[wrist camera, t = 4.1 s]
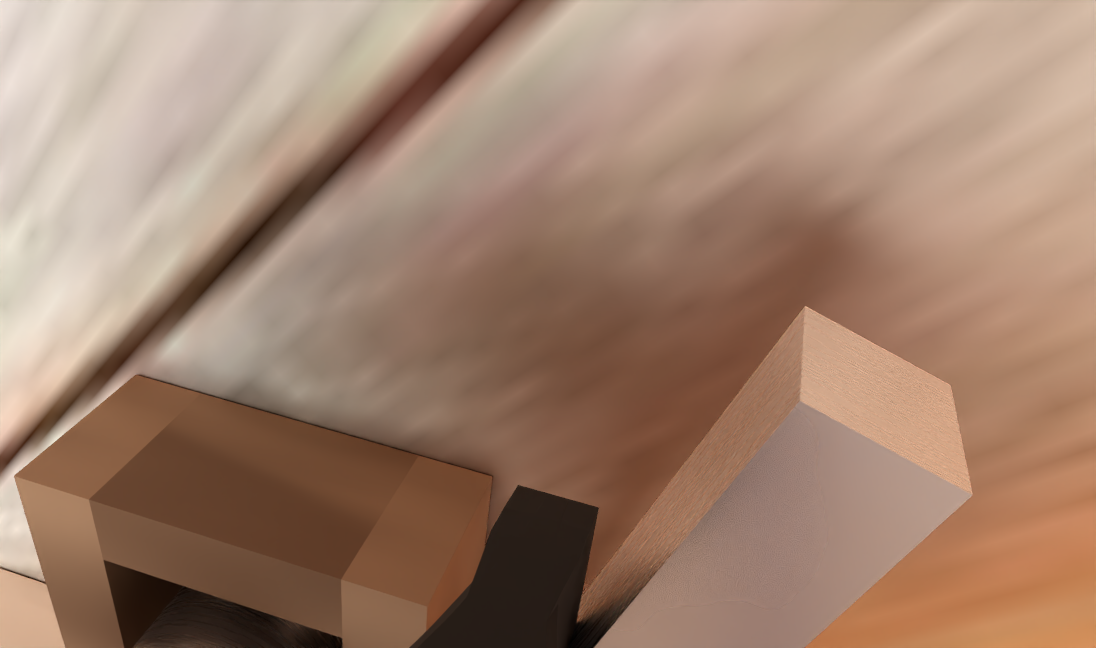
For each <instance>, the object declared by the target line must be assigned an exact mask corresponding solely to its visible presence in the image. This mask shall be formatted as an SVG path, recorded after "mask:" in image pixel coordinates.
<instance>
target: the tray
mask: <svg viewBox="0 0 1096 648" xmlns="http://www.w3.org/2000/svg"><path fill="white" fill-rule="evenodd" d="M0 648H65V645H64V642H63V639H62V635H61V632H60V629H59V625H58V622H57V619H56V615H55V612H54V609H53V605H52V602H51V599H50V595H49V592H48V588H47V585H46V584H44V583H42V582H39V581H36V580H33V579H30V578H27V577H24V576H21V575H18V574H15V573H12V572H9V571H6V570H3V569H0Z"/></svg>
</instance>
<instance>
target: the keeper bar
mask: <svg viewBox="0 0 1096 648" xmlns="http://www.w3.org/2000/svg"><path fill="white" fill-rule="evenodd" d="M972 495H973V494H972V489H971V484H970V479H969V474H968V469H967V464H966V459H965V454H964V449H963V444H962V439H961V434H960V429H959V424H958V419H957V414H956V409H955V404H954V399H953V394H952V389H951V385H950V384H948V383H946V382H944V381H942V380H940V379H939V378H937V377H935V376H933V375H931V374H929V373H928V372H926V371H924V370H922V369H920V368H918V367H917V366H915V365H913V364H911V363H909V362H907V361H906V360H904V359H902V358H900V357H898V356H896V355H895V354H893V353H891V352H889V351H887V350H885V349H884V348H882V347H880V346H878V345H876V344H874V343H873V342H871V341H869V340H867V339H865V338H863V337H862V336H860V335H858V334H856V333H854V332H852V331H851V330H849V329H847V328H845V327H843V326H841V325H840V324H838V323H836V322H834V321H832V320H830V319H829V318H827V317H825V316H823V315H821V314H819V313H818V312H816V311H814V310H812V309H810V308H808V307H807V306H804V308H803V309H802V310H801V312H800V313H799V314H798V315H797V317H796V318H795V319H794V321H793V322H792V323H791V325H790V326H789V327H788V329H787V330H786V331H785V332H784V334H783V335H782V336H781V338H780V339H779V340H778V342H777V343H776V344H775V345H774V347H773V348H772V349H771V351H770V352H769V353H768V355H767V356H766V357H765V358H764V360H763V361H762V362H761V364H760V365H759V366H758V368H757V369H756V370H755V372H754V373H753V374H752V375H751V377H750V378H749V379H748V381H747V382H746V383H745V385H744V386H743V387H742V388H741V390H740V391H739V392H738V394H737V395H736V396H735V398H734V399H733V400H732V401H731V403H730V404H729V405H728V407H727V408H726V409H725V411H724V412H723V413H722V414H721V416H720V417H719V418H718V420H717V421H716V422H715V424H714V425H713V426H712V428H711V429H710V430H709V431H708V433H707V434H706V435H705V437H704V438H703V439H702V441H701V442H700V443H699V444H698V446H697V447H696V448H695V450H694V451H693V452H692V454H691V455H690V456H689V457H688V459H687V460H686V461H685V463H684V464H683V465H682V467H681V468H680V469H679V470H678V472H677V473H676V474H675V476H674V477H673V478H672V480H671V481H670V482H669V484H668V485H667V486H666V487H665V489H664V490H663V491H662V493H661V494H660V495H659V497H658V498H657V499H656V500H655V502H654V503H653V504H652V506H651V507H650V508H649V510H648V511H647V512H646V513H645V515H644V516H643V517H642V519H641V520H640V521H639V523H638V524H637V525H636V527H635V528H634V529H633V530H632V532H631V533H630V534H629V536H628V537H627V538H626V540H625V541H624V542H623V543H622V545H621V546H620V547H619V549H618V550H617V551H616V553H615V554H614V555H613V556H612V558H611V559H610V560H609V562H608V563H607V564H606V566H605V567H604V568H603V569H602V571H601V572H600V573H599V575H598V576H597V577H596V579H595V580H594V581H593V583H592V584H591V585H590V586H589V588H588V589H587V590H586V592H585V593H584V594H583V596H582V597H581V601H580V606H579V611H578V616H577V621H576V625H575V629H574V632H573V635H572V638H571V642H570V645H569V648H805V647H806V646H807V645H808V644H809V643H810V642H811V641H812V640H813V639H815V638H816V637H817V636H818V635H819V634H820V633H821V632H822V631H823V630H825V629H826V628H827V627H828V626H829V625H830V624H831V623H832V622H833V621H834V620H836V619H837V618H838V617H839V616H840V615H841V614H842V613H843V612H844V611H845V610H847V609H848V608H849V607H850V606H851V605H852V604H853V603H854V602H855V601H857V600H858V599H859V598H860V597H861V596H862V595H863V594H864V593H865V592H866V591H868V590H869V589H870V588H871V587H872V586H873V585H874V584H875V583H876V582H878V581H879V580H880V579H881V578H882V577H883V576H884V575H885V574H886V573H887V572H889V571H890V570H891V569H892V568H893V567H894V566H895V565H896V564H897V563H898V562H900V561H901V560H902V559H903V558H904V557H905V556H906V555H907V554H908V553H910V552H911V551H912V550H913V549H914V548H915V547H916V546H917V545H918V544H919V543H921V542H922V541H923V540H924V539H925V538H926V537H927V536H928V535H929V534H930V533H932V532H933V531H934V530H935V529H936V528H937V527H938V526H939V525H940V524H942V523H943V522H944V521H945V520H946V519H947V518H948V517H949V516H950V515H951V514H953V513H954V512H955V511H956V510H957V509H958V508H959V507H960V506H961V505H963V504H964V503H965V502H966V501H967V500H968V499H969V498H970V497H971V496H972Z"/></svg>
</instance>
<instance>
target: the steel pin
mask: <svg viewBox="0 0 1096 648" xmlns="http://www.w3.org/2000/svg"><path fill="white" fill-rule="evenodd" d="M133 648H343V642H342V638H340V637H337V636H334V635H331V634H328V633H325V632H322V631H319V630H316V629H313V628H310V627H307V626H304V625H301V624H298V623H295V622H292V621H289V620H286V619H282V618H279V617H276V616H273V615H270V614H267V613H264V612H261V611H258V610H255V609H252V608H249V607H246V606H243V605H240V604H237V603H234V602H231V601H228V600H225V599H222V598H218V597H215V596H212V595H209V594H206V593H203V592H200V591H197V590H194V589H191V588H188V587H185V586H183V587H182V588H181V589H180V590H179V592H178V593H177V594H176V595H175V597H174V598H173V599H172V600H171V601H170V603H169V604H168V605H167V606H166V608H165V609H164V610H163V611H162V612H161V614H160V615H159V616H158V617H157V618H156V620H155V621H154V622H153V623H152V625H151V626H150V627H149V628H148V629H147V631H146V632H145V633H144V634H143V635H142V637H141V638H140V639H139V640H138V642H137V643H136V644H135V645H134V646H133Z"/></svg>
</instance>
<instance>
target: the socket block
mask: <svg viewBox="0 0 1096 648" xmlns="http://www.w3.org/2000/svg"><path fill="white" fill-rule="evenodd" d="M14 478H15V481H16V485H17V488H18V491H19V495H20V498H21V501H22V505H23V508H24V511H25V515H26V518H27V521H28V525H29V528H30V531H31V535H32V538H33V542H34V545H35V548H36V552H37V555H38V558H39V562H40V565H41V568H42V572H43V575H44V578H45V582H46V585H47V588H48V592H49V595H50V599H51V602H52V605H53V609H54V612H55V615H56V619H57V622H58V625H59V629H60V632H61V635H62V639H63V642H64V645H65V648H133V646H134V645H135V644H136V643H137V642H138V640H139V639H140V638H141V637H142V635H143V634H144V633H145V632H146V631H147V629H148V628H149V627H150V626H151V625H152V623H153V622H154V621H155V620H156V618H157V617H158V616H159V615H160V614H161V612H162V611H163V610H164V609H165V608H166V606H167V605H168V604H169V603H170V601H171V600H172V599H173V598H174V597H175V595H176V594H177V593H178V592H179V590H180V589H181V588H182V587H183V586H185V587H188V588H191V589H194V590H197V591H200V592H203V593H206V594H209V595H212V596H215V597H218V598H222V599H225V600H228V601H231V602H234V603H237V604H240V605H243V606H246V607H249V608H252V609H255V610H258V611H261V612H264V613H267V614H270V615H273V616H276V617H279V618H282V619H286V620H289V621H292V622H295V623H298V624H301V625H304V626H307V627H310V628H313V629H316V630H319V631H322V632H325V633H328V634H331V635H334V636H337V637H340V638H342V642H343V648H409V647H410V646H411V645H412V644H413V643H415V642H416V641H417V640H418V639H419V638H420V637H421V636H422V635H423V634H424V633H425V632H426V631H427V630H428V629H429V628H430V627H431V626H432V625H433V624H434V623H435V622H436V621H437V620H438V619H439V617H440V616H441V615H442V614H443V613H444V612H445V611H446V610H447V609H448V608H449V607H450V606H451V604H452V603H453V602H454V601H455V600H456V599H457V598H458V597H459V596H460V595H461V594H462V593H463V591H464V590H465V589H466V588H467V587H468V586H469V585H470V584H471V583H472V581H473V578H474V576H475V573H476V570H477V568H478V565H479V562H480V560H481V557H482V554H483V552H484V549H485V541H486V532H487V523H488V513H489V504H490V495H491V486H492V476H489V475H486V474H482V473H479V472H475V471H471V470H468V469H464V468H461V467H457V466H454V465H450V464H447V463H443V462H440V461H436V460H433V459H429V458H426V457H422V456H419V455H415V454H412V453H408V452H405V451H401V450H398V449H394V448H391V447H387V446H384V445H380V444H377V443H373V442H370V441H366V440H363V439H359V438H356V437H352V436H349V435H345V434H342V433H338V432H335V431H331V430H328V429H324V428H321V427H317V426H314V425H310V424H307V423H303V422H300V421H296V420H293V419H289V418H286V417H282V416H279V415H275V414H272V413H268V412H265V411H261V410H258V409H254V408H251V407H247V406H244V405H240V404H237V403H233V402H230V401H226V400H223V399H219V398H216V397H212V396H209V395H205V394H202V393H198V392H195V391H191V390H188V389H184V388H180V387H177V386H173V385H170V384H166V383H163V382H159V381H156V380H152V379H149V378H145V377H142V376H138V375H135V376H134V377H133V378H131V379H130V380H129V381H128V382H127V383H125V384H124V385H123V386H122V387H121V388H119V389H118V390H117V391H116V392H114V393H113V394H112V395H111V396H110V397H108V398H107V399H106V400H105V401H104V402H102V403H101V404H100V405H99V406H98V407H96V408H95V409H94V410H93V411H92V412H90V413H89V414H88V415H87V416H86V417H84V418H83V419H82V420H81V421H80V422H78V423H77V424H76V425H75V426H74V427H72V428H71V429H70V430H69V431H68V432H66V433H65V434H64V435H63V436H62V437H60V438H59V439H58V440H57V441H55V442H54V443H53V444H52V445H51V446H49V447H48V448H47V449H46V450H45V451H43V452H42V453H41V454H40V455H39V456H37V457H36V458H35V459H34V460H33V461H31V462H30V463H29V464H28V465H27V466H25V467H24V468H23V469H22V470H21V471H19V472H18V473H17V474H16V475H15V476H14Z"/></svg>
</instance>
